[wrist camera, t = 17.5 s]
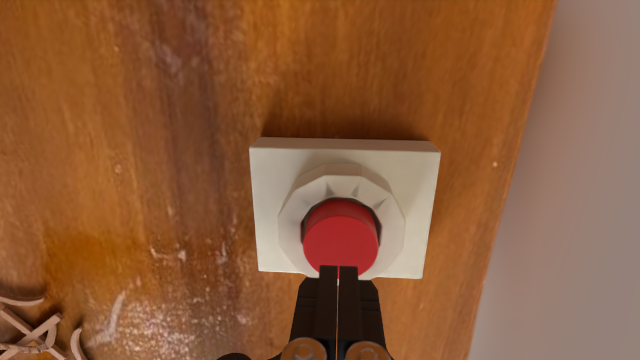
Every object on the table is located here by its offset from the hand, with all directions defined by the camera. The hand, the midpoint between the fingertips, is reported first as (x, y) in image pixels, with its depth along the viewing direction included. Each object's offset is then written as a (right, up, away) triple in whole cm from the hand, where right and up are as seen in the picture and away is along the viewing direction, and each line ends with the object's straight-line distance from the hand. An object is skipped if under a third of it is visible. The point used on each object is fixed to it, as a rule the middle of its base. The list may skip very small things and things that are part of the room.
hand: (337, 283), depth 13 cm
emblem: (-25, -9, +14) cm, 31 cm away
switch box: (+1, +3, +7) cm, 8 cm away
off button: (0, +1, +4) cm, 4 cm away
